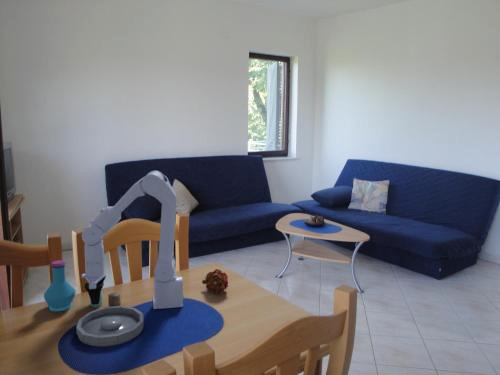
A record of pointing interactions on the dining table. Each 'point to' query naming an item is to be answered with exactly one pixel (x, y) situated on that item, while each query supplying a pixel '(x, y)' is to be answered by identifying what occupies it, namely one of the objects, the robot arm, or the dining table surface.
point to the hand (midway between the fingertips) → (96, 300)
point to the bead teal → (99, 302)
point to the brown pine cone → (216, 281)
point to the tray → (110, 326)
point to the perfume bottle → (59, 289)
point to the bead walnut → (114, 299)
